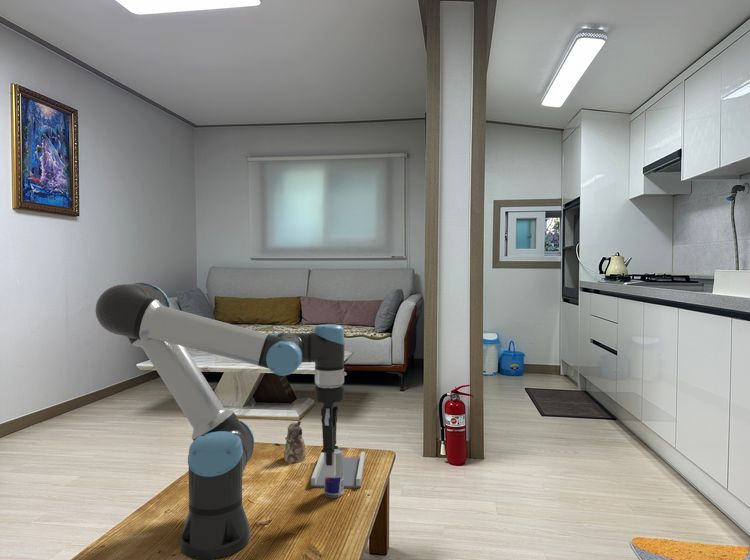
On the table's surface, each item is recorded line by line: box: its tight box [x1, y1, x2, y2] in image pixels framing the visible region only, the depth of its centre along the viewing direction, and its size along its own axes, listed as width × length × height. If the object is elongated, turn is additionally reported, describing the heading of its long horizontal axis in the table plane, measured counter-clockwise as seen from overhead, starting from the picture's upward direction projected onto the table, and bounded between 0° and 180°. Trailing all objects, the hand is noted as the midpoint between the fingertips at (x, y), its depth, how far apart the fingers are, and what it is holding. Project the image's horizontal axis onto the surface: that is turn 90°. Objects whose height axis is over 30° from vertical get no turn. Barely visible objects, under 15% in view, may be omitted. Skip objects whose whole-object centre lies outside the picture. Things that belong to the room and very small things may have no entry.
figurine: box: [283, 420, 307, 463], centre depth 168 cm, size 7×7×12 cm
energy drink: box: [323, 447, 345, 499], centre depth 141 cm, size 5×5×12 cm
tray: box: [310, 451, 366, 489], centre depth 156 cm, size 22×14×3 cm, turn 178°
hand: (329, 475), depth 131 cm, fingers closed
